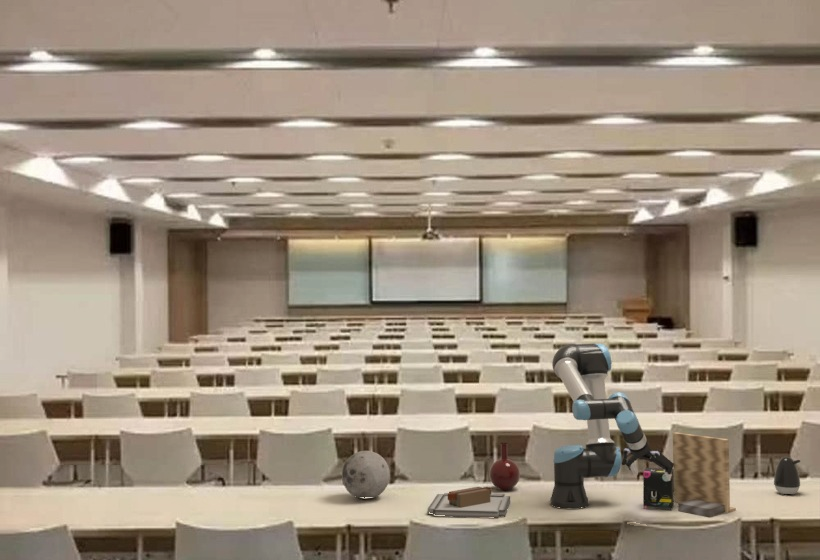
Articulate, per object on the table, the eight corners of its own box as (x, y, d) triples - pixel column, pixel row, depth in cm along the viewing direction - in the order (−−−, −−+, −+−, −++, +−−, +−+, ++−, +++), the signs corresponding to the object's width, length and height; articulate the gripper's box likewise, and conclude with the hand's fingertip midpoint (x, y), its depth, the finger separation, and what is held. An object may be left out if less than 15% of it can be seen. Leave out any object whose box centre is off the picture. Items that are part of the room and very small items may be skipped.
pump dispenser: (798, 497, 408) (797, 460, 407) (771, 494, 413) (771, 457, 413) (803, 492, 416) (802, 455, 416) (776, 489, 422) (776, 453, 422)
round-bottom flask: (483, 490, 432) (482, 444, 432) (501, 484, 442) (500, 439, 442) (508, 494, 424) (507, 447, 424) (526, 488, 434) (525, 442, 434)
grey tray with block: (504, 520, 383) (504, 500, 383) (426, 518, 388) (426, 498, 388) (510, 502, 412) (510, 483, 412) (438, 500, 418) (438, 482, 418)
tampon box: (643, 508, 394) (642, 471, 394) (646, 503, 402) (645, 467, 402) (672, 510, 390) (671, 473, 390) (674, 505, 399) (673, 468, 398)
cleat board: (658, 506, 396) (657, 436, 396) (682, 500, 406) (681, 431, 406) (712, 517, 378) (710, 443, 378) (735, 510, 388) (734, 438, 388)
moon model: (391, 493, 431) (390, 446, 430) (388, 503, 411) (387, 455, 410) (344, 493, 431) (343, 447, 431) (340, 504, 411) (339, 455, 411)
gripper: (603, 448, 382) (620, 480, 394) (666, 453, 367) (682, 487, 380) (609, 432, 386) (625, 465, 398) (671, 437, 372) (686, 471, 384)
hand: (653, 476), depth 389 cm, fingers open, 13 cm apart
